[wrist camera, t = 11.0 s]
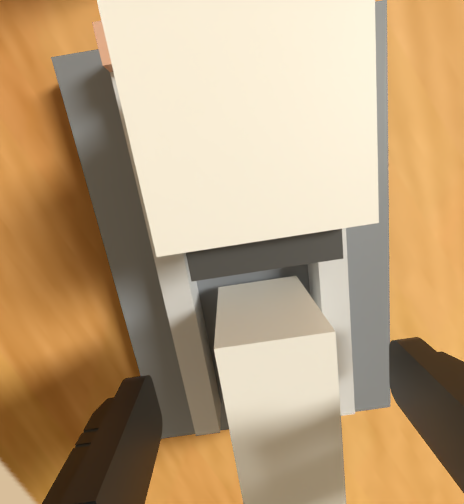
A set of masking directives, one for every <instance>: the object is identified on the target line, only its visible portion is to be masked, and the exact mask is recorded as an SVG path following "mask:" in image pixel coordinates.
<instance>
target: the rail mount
mask: <svg viewBox="0 0 464 504" xmlns="http://www.w3.org/2000/svg"><path fill="white" fill-rule="evenodd" d="M97 3H98V8H99V12H100V16H101V20H102V21H97V22H92V24H93V28H94V32H95V36H96V40H97V45H98V49H97V50H91V51H85V52H80V53H74V54H68V55H62V56H56V57H51V59H52V62H53V66H54V69H55V73H56V76H57V80H58V83H59V87H60V91H61V94H62V98H63V101H64V105H65V108H66V112H67V115H68V119H69V123H70V126H71V130H72V133H73V137H74V140H75V144H76V147H77V151H78V155H79V158H80V162H81V165H82V169H83V172H84V176H85V180H86V183H87V187H88V190H89V194H90V197H91V201H92V204H93V208H94V212H95V215H96V219H97V222H98V226H99V229H100V233H101V236H102V240H103V244H104V247H105V251H106V254H107V258H108V261H109V265H110V268H111V272H112V276H113V279H114V283H115V286H116V290H117V293H118V297H119V301H120V304H121V308H122V311H123V315H124V318H125V322H126V325H127V329H128V333H129V336H130V340H131V343H132V347H133V350H134V354H135V357H136V361H137V365H138V368H139V372H140V375H141V376H146V375H150V376H151V378H152V380H153V384H154V387H155V391H156V395H157V399H158V402H159V406H160V410H161V414H162V423H163V427H162V436H161V439H162V438H170V437H177V436H184V435H191V434H196V436H198V435H206V434H213V433H220V430H227V429H229V425H228V420H227V415H226V410H225V405H224V399H223V394H222V389H221V384H220V379H219V373H218V368H217V363H216V358H215V353H214V340H215V327H216V314H217V300H218V287H223V286H230V285H237V284H244V283H250V282H257V281H264V280H271V279H277V278H284V277H291V276H297V277H298V279H299V280H300V282H301V283H302V284H303V286H304V287H305V289H306V290H307V292H308V293H309V294H310V296H311V297H312V299H313V300H314V302H315V303H316V304H317V306H318V307H319V309H320V310H321V312H322V313H323V314H324V316H325V317H326V319H327V320H328V322H329V323H330V324H331V326H332V327H333V329H334V330H335V332H336V347H337V364H338V380H339V396H340V412H341V416H342V415H350V414H355V412H357V411H364V410H371V409H378V408H385V407H390V383H389V344H390V313H389V197H388V81H387V0H382V1H376V2H375V0H97Z"/></svg>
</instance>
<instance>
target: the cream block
mask: <svg viewBox="0 0 464 504" xmlns="http://www.w3.org/2000/svg"><path fill="white" fill-rule="evenodd" d="M214 353H215V358H216V363H217V368H218V373H219V379H220V384H221V389H222V394H223V399H224V405H225V410H226V415H227V420H228V425H229V431H230V436H231V441H232V446H233V451H234V457H235V462H236V467H237V472H238V477H239V483H240V488H241V493H242V498H243V503H244V504H346V493H345V476H344V460H343V444H342V428H341V412H340V396H339V380H338V364H337V347H336V332H335V330H334V329H333V327H332V326H331V324H330V323H329V322H328V320H327V319H326V317H325V316H324V314H323V313H322V312H321V310H320V309H319V307H318V306H317V304H316V303H315V302H314V300H313V299H312V297H311V296H310V294H309V293H308V292H307V290H306V289H305V287H304V286H303V284H302V283H301V282H300V280H299V279H298V277H297V276H291V277H284V278H277V279H271V280H264V281H257V282H250V283H244V284H237V285H230V286H223V287H218V300H217V314H216V327H215V340H214Z"/></svg>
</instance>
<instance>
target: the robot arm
mask: <svg viewBox="0 0 464 504" xmlns="http://www.w3.org/2000/svg"><path fill="white" fill-rule="evenodd" d="M389 383H390V388H391V392H392V395H393V397H394V399H395V401H396V403H397V404H398V406H399V407H400V409H401V410H402V411H403V413H404V414H405V415H406V417H407V418H408V419H409V421H410V422H411V423H412V425H413V426H414V427H415V429H416V430H417V431H418V433H419V434H420V435H421V437H422V438H423V439H424V441H425V442H426V443H427V445H428V446H429V447H430V449H431V450H432V451H433V453H434V454H435V455H436V457H437V458H438V459H439V461H440V462H441V463H442V465H443V466H444V467H445V469H446V470H447V471H448V473H449V474H450V475H451V477H452V478H453V479H454V481H455V482H456V483H457V485H458V486H459V487H460V489H461V490H462V491H463V493H464V362H463V361H461V360H459V359H457V358H455V357H452V356H450V355H448V354H446V353H444V352H436V351H435V350H434V349H433V348H432V347H430V346H429V345H428V344H427V343H426V342H424V341H423V340H422V339H421V338H418V337H414V338H407V339H400V340H393V341H391V342H390V344H389ZM162 427H163V423H162V414H161V410H160V406H159V402H158V399H157V395H156V391H155V387H154V384H153V380H152V378H151V376H150V375H146V376H139V377H132V378H125V379H124V380H123V382H122V383H121V385H120V387H119V389H118V391H117V393H116V395H115V397H114V398H108V399H107V400H106V401H105V402H104V403H103V404H102V405H101V406H100V407H99V408H98V409H97V410H96V411H95V412H94V413H93V414H92V416H91V418H90V420H89V421H88V423H87V425H86V427H85V429H84V433H82V434H81V436H80V437H79V439H78V441H77V443H76V444H75V445H76V446H75V448H73V450H72V452H71V453H70V455H69V457H68V459H67V460H66V462H65V464H64V466H63V467H62V469H61V471H60V473H59V475H58V476H57V478H56V480H55V482H54V483H53V485H52V487H51V489H50V490H49V492H48V494H47V496H46V498H45V499H44V501H43V503H42V504H145V500H146V496H147V492H148V488H149V484H150V480H151V476H152V472H153V468H154V464H155V460H156V456H157V452H158V448H159V444H160V440H161V436H162Z"/></svg>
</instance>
